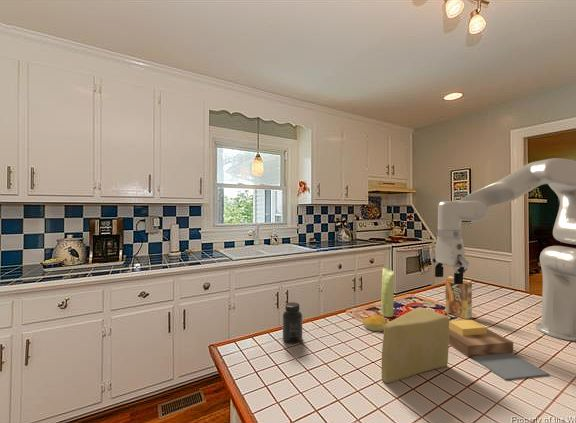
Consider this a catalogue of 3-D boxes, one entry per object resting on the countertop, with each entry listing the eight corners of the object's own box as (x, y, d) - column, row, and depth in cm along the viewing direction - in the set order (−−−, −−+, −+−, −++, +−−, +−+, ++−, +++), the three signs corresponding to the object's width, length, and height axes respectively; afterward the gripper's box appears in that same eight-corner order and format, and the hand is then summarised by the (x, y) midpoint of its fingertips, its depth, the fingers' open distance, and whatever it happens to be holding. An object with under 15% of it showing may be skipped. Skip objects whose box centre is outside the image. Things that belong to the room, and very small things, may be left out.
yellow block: (471, 325, 96) (471, 319, 96) (486, 333, 90) (486, 327, 90) (448, 327, 94) (449, 321, 94) (462, 335, 88) (462, 329, 88)
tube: (396, 314, 114) (396, 268, 114) (393, 318, 110) (394, 271, 109) (382, 311, 117) (382, 267, 117) (379, 315, 113) (379, 269, 112)
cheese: (399, 394, 66) (400, 333, 66) (369, 372, 74) (369, 319, 74) (449, 367, 77) (450, 315, 77) (418, 351, 85) (419, 304, 85)
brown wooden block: (475, 332, 98) (475, 322, 98) (512, 353, 84) (513, 342, 84) (435, 335, 96) (435, 325, 96) (467, 357, 82) (468, 345, 82)
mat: (511, 354, 84) (511, 352, 84) (549, 375, 73) (549, 373, 73) (471, 357, 82) (471, 356, 82) (505, 380, 71) (505, 378, 71)
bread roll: (358, 325, 104) (358, 315, 104) (374, 320, 108) (375, 310, 108) (375, 334, 97) (375, 323, 97) (392, 328, 101) (392, 318, 101)
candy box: (472, 317, 111) (472, 280, 111) (467, 319, 109) (468, 282, 109) (449, 310, 119) (450, 276, 118) (444, 312, 116) (445, 277, 116)
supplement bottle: (305, 336, 95) (305, 302, 94) (297, 345, 88) (298, 309, 88) (287, 332, 97) (287, 299, 97) (279, 341, 91) (279, 306, 91)
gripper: (478, 236, 92) (476, 286, 92) (441, 232, 109) (440, 274, 109) (458, 237, 91) (457, 287, 91) (424, 232, 108) (423, 274, 108)
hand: (448, 280), depth 100 cm, fingers open, 9 cm apart
